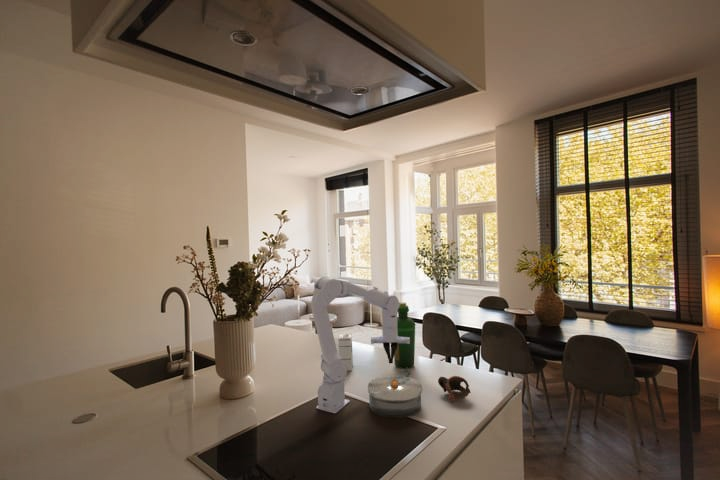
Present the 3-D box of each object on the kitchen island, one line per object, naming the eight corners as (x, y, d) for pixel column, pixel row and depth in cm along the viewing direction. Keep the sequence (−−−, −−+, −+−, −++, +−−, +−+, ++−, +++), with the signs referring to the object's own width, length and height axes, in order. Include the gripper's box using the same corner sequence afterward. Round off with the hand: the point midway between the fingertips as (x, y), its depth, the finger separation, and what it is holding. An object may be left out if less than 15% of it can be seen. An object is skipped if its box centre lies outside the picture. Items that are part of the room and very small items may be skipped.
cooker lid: (413, 406, 106) (412, 397, 106) (359, 396, 113) (358, 388, 113) (431, 376, 128) (431, 368, 128) (385, 369, 136) (385, 362, 136)
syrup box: (352, 370, 150) (351, 337, 150) (339, 371, 150) (338, 337, 150) (353, 365, 155) (352, 333, 155) (340, 366, 155) (339, 334, 155)
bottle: (399, 359, 161) (398, 300, 161) (420, 364, 155) (418, 302, 155) (388, 367, 153) (386, 304, 152) (409, 372, 146) (407, 306, 146)
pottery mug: (473, 394, 125) (474, 380, 121) (463, 415, 119) (464, 400, 114) (442, 379, 131) (442, 365, 127) (431, 398, 125) (431, 384, 121)
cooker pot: (412, 422, 106) (412, 406, 106) (361, 412, 114) (360, 397, 114) (430, 390, 128) (430, 377, 128) (386, 383, 135) (385, 371, 135)
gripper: (408, 323, 133) (409, 358, 133) (371, 323, 134) (372, 358, 134) (409, 328, 126) (410, 365, 126) (370, 328, 127) (371, 365, 127)
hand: (390, 362), depth 130 cm, fingers closed
